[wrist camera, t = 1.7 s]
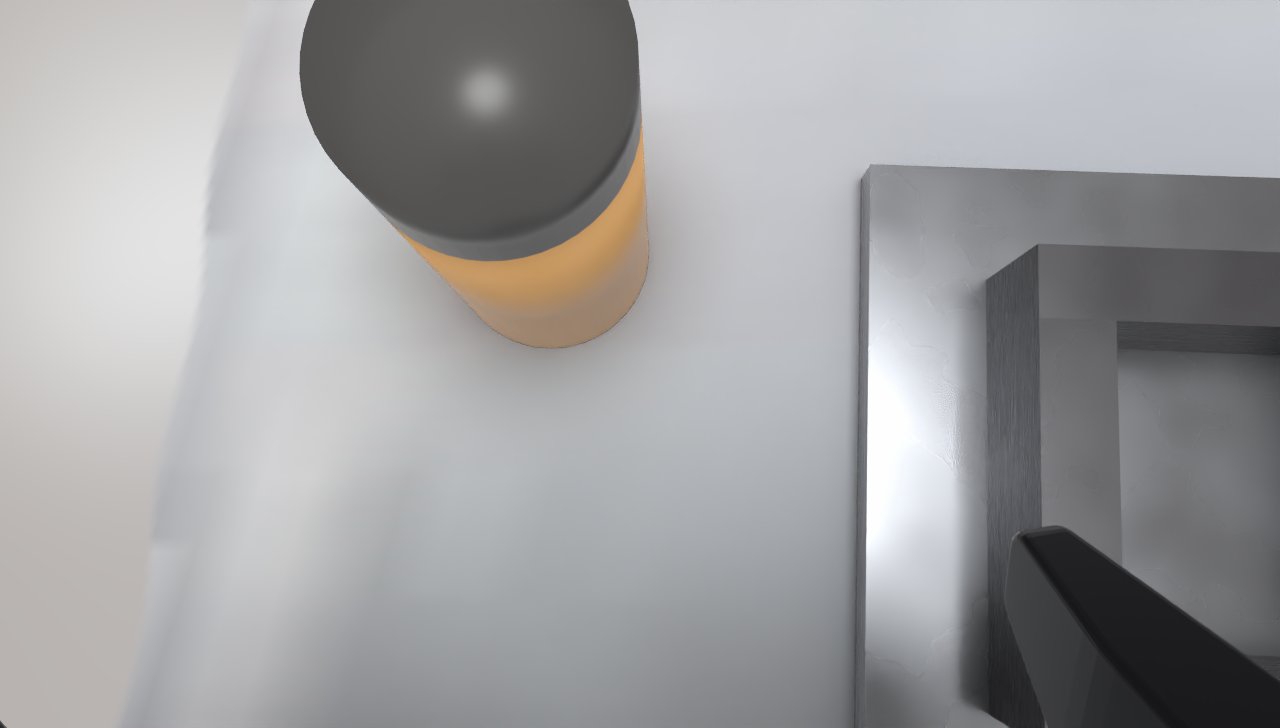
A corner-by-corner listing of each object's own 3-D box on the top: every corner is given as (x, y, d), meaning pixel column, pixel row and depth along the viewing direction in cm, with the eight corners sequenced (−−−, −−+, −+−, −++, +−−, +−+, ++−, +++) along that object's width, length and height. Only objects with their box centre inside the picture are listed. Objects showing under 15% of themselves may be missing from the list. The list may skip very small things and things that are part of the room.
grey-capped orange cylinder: (644, 351, 22) (630, 228, 13) (450, 344, 23) (284, 216, 13) (652, 164, 23) (645, -95, 13) (463, 157, 23) (314, -104, 13)
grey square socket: (1537, 857, 20) (1746, 942, 17) (853, 822, 21) (898, 896, 17) (1484, 200, 22) (1661, 135, 19) (861, 179, 23) (903, 110, 19)
